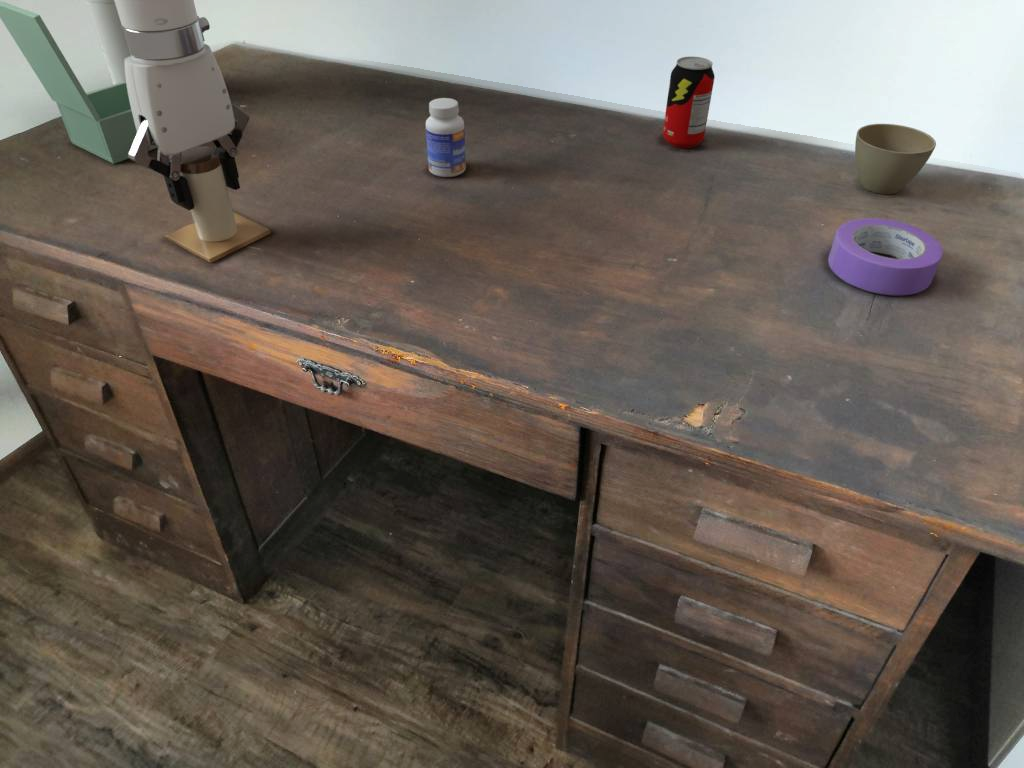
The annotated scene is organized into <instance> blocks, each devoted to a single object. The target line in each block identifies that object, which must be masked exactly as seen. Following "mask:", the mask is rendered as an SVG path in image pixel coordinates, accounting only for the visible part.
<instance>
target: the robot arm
mask: <svg viewBox="0 0 1024 768" xmlns="http://www.w3.org/2000/svg"><path fill="white" fill-rule="evenodd" d="M85 2H86V5H87V8H88V12H89V14H90V18H91V20H92V23H93V24H92V25H93V26H94V30H95V34H96V36H97V39H98V42H99V45H100V48H101V52H102V55H103V57H104V60H105V63H106V66H107V69H108V72H109V75H110V79H111V81H112V84H111V85H115V84H118V83H121V82H124V81H126V84H127V91H128V96H129V101H130V106H131V110H132V115H133V119H134V123H135V126H136V130H137V135H136V137H135V139H134V142H133V144H132V146H131V149H130V151H129V153H128V157H129V158H128V159H129V160H130V161H132V162H134V163H136V164H139V165H141V166H143V167H145V168H148V169H150V170H152V171H154V172H155V173H158V174H160V175H162V176H163V178H164V181H165V184H166V188H167V190H168V193H169V197H170V200H171V201H172V202H173V203H174V204H176V205H177V206H179V207H182V208H183V209H185V210H187V211H190V210H192V209H194V203H193V199H192V196H191V192H190V189H189V185H188V182H187V179H186V178H185V177H183V176H181V157H182V152H185V151H188V150H190V149H193V148H196V147H198V146H204V145H206V144H208V143H211V144H212V147H213V148H216V149H217V150H218V151H219V154H220V158H221V165H222V169H223V173H224V177H225V181H226V185H227V188H228V189H229V188H230V189H231V190H234V191H237V190H240V188H241V185H240V180H239V178H240V175H239V174H240V173H239V170H238V167H237V163H236V158H235V157H237V156H238V153H239V150H238V146H239V144H240V142H241V140H242V137H243V132H244V131H245V129H246V127H247V125H248V123H249V121H250V115H249V114H248V113H246V112H245V111H244V110H242V109H241V108H240V107H238V106H237V105H235V104H234V103H232V101H231V98H230V94H229V91H228V89H227V85H226V82H225V79H224V76H223V74H222V71H221V69H220V66H219V64H218V61H217V59H216V56H215V55H214V53H213V51H212V49H211V47H210V45H209V44H206V43H205V41H206V40H205V36H204V33H205V32H206V31H209V30H210V27H211V26H210V22H209V21H208V19H207V18H206V17H205V16H201V17H200V16H199V15H198V14H197V13H198V12H197V8H196V6H195V1H194V0H85ZM111 85H109V86H111ZM155 146H158V148H157V158H154V157H153V156H150V154H149V152H150V151H149V148H150V147H155Z"/></svg>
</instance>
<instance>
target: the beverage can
mask: <svg viewBox="0 0 1024 768" xmlns="http://www.w3.org/2000/svg"><path fill="white" fill-rule="evenodd" d="M715 77H716V76H715V73H714V70H713V62H712V61H711V60H710V59H708V58H705V57H701V56H683V57H679V58H678V59H677V60H676V65H675V66H674V67H673V69H672V70H671V72H670V77H669V85H668V92H667V99H666V106H665V114H664V122H663V127H662V128H663V129H662V138H663V139H664V140H665V141H666V142H667V144H669V145H670V146H672V147H674V148H679V149H691V148H695V147H696V146H697V145H699V144H701V143H702V141H704V139H705V134H706V130H707V129H706V128H707V123H708V116H709V113H710V106H711V100H712V96H713V95H712V94H713V88H714V84H715Z"/></svg>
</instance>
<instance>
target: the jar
mask: <svg viewBox="0 0 1024 768" xmlns="http://www.w3.org/2000/svg"><path fill="white" fill-rule="evenodd" d="M181 176H183V177H185V178H186V179H187V182H188V185H189V189H190V192H191V196H192V199H193V203H194V209H192V210H189V211H190V214H191V217H192V221H193V223H194V224H195V228H196V231H197V235H198V237H199V238H200V239H201V240H203V241H207V242H218V241H223V240H226V239H229V238H231V237H233V236H234V235H235V234H236V233H237V230H238V229H237V224H236V220H235V217H234V213H233V212H234V209H233V205H232V201H231V198H230V193H229V188H228V187H227V185H226V181H225V177H224V173H223V169H222V165H221V158H220V154H219V151H218V150H217V149H216V148H215V147H214V146H208V145H201V146H198V147H196V148H193V149H190V150H188V151H185V152H182V157H181Z"/></svg>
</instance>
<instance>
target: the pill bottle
mask: <svg viewBox="0 0 1024 768" xmlns="http://www.w3.org/2000/svg"><path fill="white" fill-rule="evenodd" d="M428 112H429V115H430V116H429V117H428V118H426V120H425V136H426V137H425V138H426V149H427V150H426V152H427V164H428V170H429V173H431V174H432V175H434V176H437V177H440V178H453V177H457V176H460V175H462V174H463V173H464V172H465V171H466V168H467V160H466V137H465V136H466V134H465V133H466V132H465V121H464V119H463V117H461V116H460V115H458V114H459V112H460V110H459V102H458V101H457V100H456V99H455V98H449V97H441V98H440V97H439V98H434V99H432V100H431V101H429V103H428Z"/></svg>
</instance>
